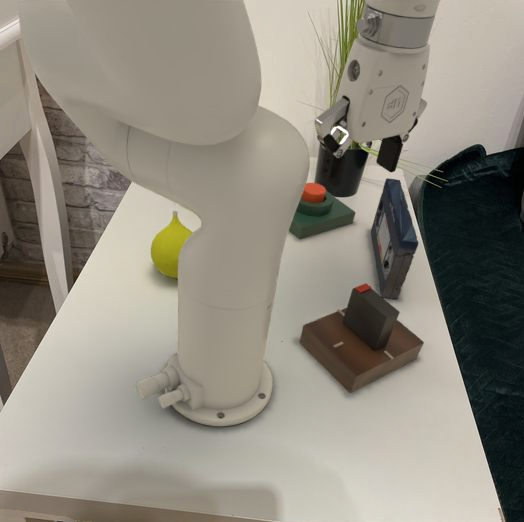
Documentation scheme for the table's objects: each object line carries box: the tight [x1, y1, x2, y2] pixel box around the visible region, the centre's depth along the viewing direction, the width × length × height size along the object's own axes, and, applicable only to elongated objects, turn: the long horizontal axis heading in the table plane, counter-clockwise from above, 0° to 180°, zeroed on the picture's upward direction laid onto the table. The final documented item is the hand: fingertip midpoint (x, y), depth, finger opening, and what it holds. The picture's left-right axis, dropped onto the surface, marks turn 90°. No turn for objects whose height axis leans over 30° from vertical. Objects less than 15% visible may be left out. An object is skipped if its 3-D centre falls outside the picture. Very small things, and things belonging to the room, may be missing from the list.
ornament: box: [150, 210, 194, 279], centre depth 72 cm, size 7×7×10 cm
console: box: [299, 307, 425, 394], centre depth 67 cm, size 12×10×3 cm
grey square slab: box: [343, 282, 401, 351], centre depth 64 cm, size 6×2×6 cm, turn 35°
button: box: [301, 182, 327, 203], centre depth 88 cm, size 4×4×2 cm
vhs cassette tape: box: [370, 178, 419, 300], centre depth 80 cm, size 18×3×10 cm, turn 175°
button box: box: [288, 190, 356, 240], centre depth 89 cm, size 12×10×4 cm
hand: (358, 174), depth 69 cm, fingers open, 9 cm apart
